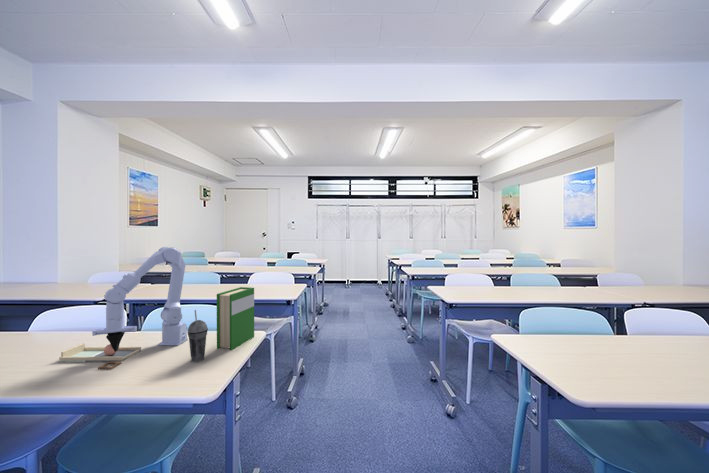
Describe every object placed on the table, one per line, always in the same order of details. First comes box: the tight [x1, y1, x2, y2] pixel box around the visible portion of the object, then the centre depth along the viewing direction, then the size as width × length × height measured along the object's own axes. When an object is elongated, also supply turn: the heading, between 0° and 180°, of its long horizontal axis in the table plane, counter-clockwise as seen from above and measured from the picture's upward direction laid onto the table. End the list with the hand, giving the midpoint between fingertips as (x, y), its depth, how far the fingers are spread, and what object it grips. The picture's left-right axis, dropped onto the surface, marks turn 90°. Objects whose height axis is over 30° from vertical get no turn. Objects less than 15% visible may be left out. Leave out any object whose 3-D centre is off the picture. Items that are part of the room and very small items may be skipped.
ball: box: [104, 343, 117, 356], centre depth 122 cm, size 4×4×4 cm
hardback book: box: [216, 286, 255, 351], centre depth 138 cm, size 18×7×24 cm, turn 167°
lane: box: [58, 343, 142, 363], centre depth 122 cm, size 24×11×4 cm, turn 90°
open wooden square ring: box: [97, 361, 123, 370], centre depth 113 cm, size 5×5×1 cm
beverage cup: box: [187, 309, 209, 363], centre depth 119 cm, size 7×7×20 cm
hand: (115, 350), depth 122 cm, fingers closed, pressing on ball
